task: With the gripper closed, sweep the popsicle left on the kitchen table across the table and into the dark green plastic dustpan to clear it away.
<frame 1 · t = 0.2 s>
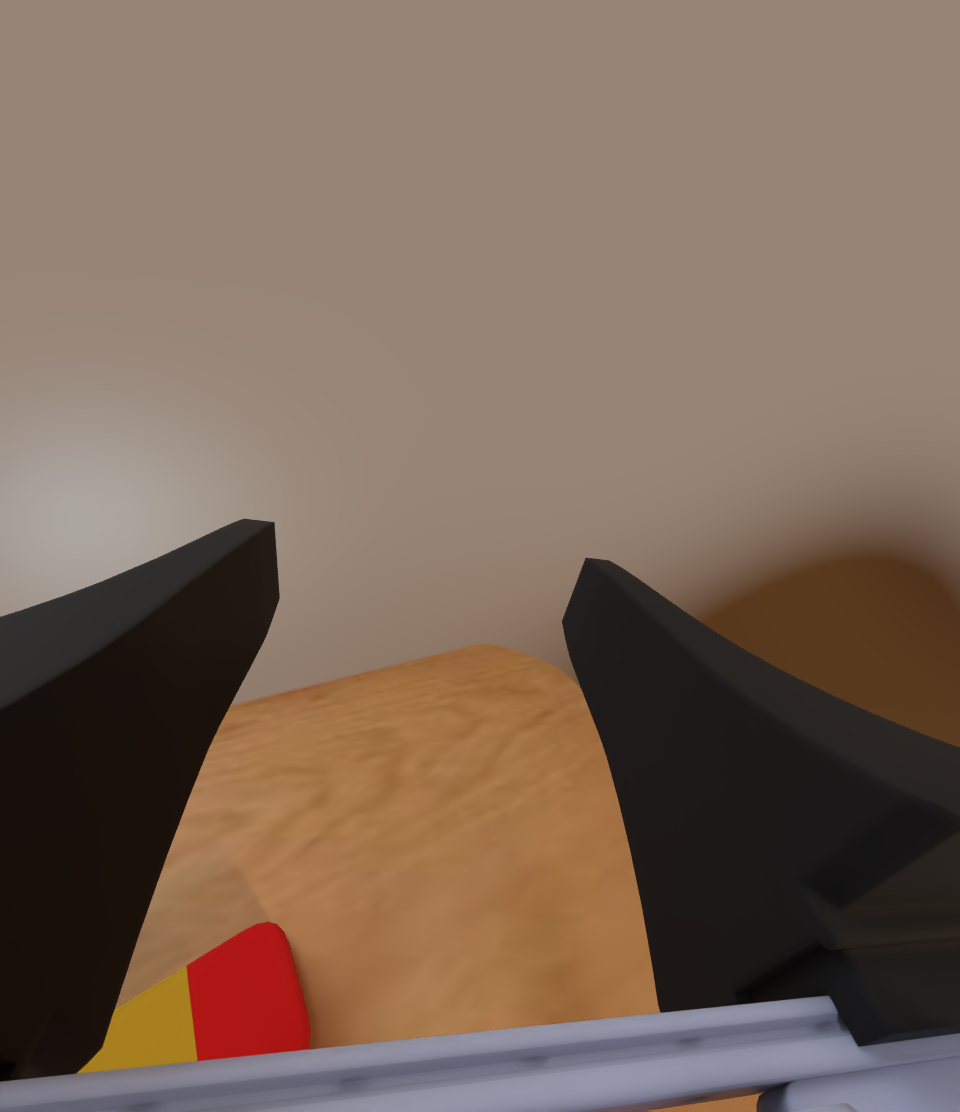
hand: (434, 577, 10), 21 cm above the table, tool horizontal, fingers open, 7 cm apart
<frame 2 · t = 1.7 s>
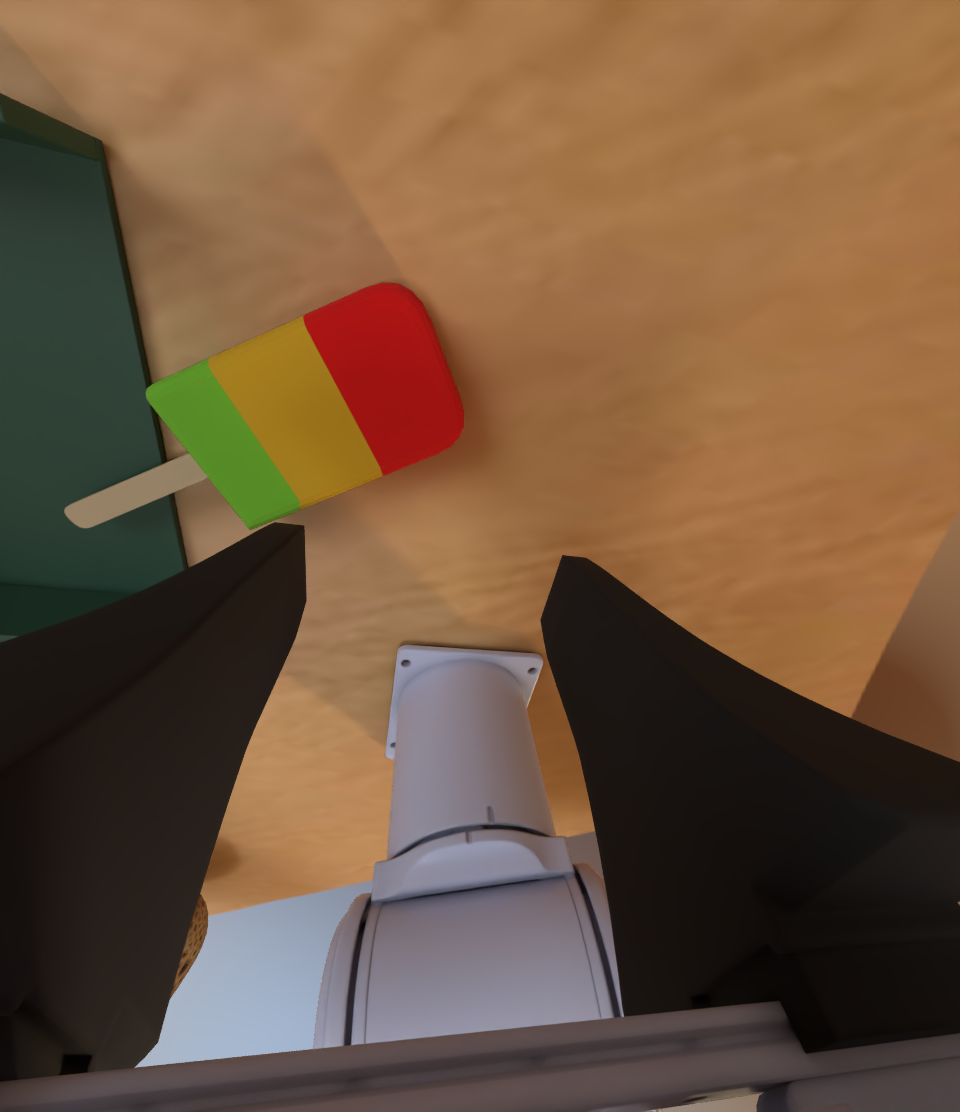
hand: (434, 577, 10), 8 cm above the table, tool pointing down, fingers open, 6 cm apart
natural sponge: (166, 854, 31), on the table
popsicle: (261, 434, 16), on the table, touching dustpan
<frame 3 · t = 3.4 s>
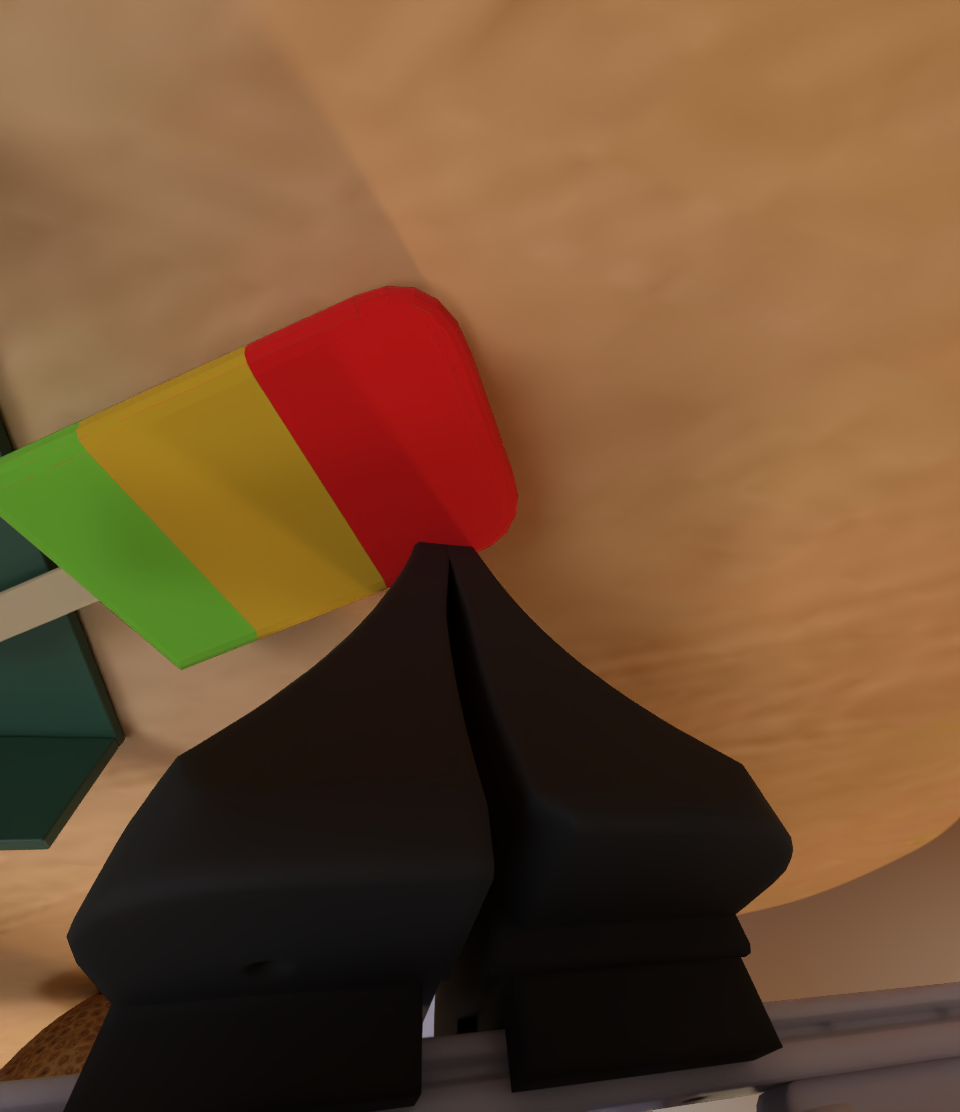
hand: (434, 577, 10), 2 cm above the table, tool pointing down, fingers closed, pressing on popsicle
natural sponge: (122, 988, 25), on the table
popsicle: (197, 520, 10), on the table, touching dustpan, gripper
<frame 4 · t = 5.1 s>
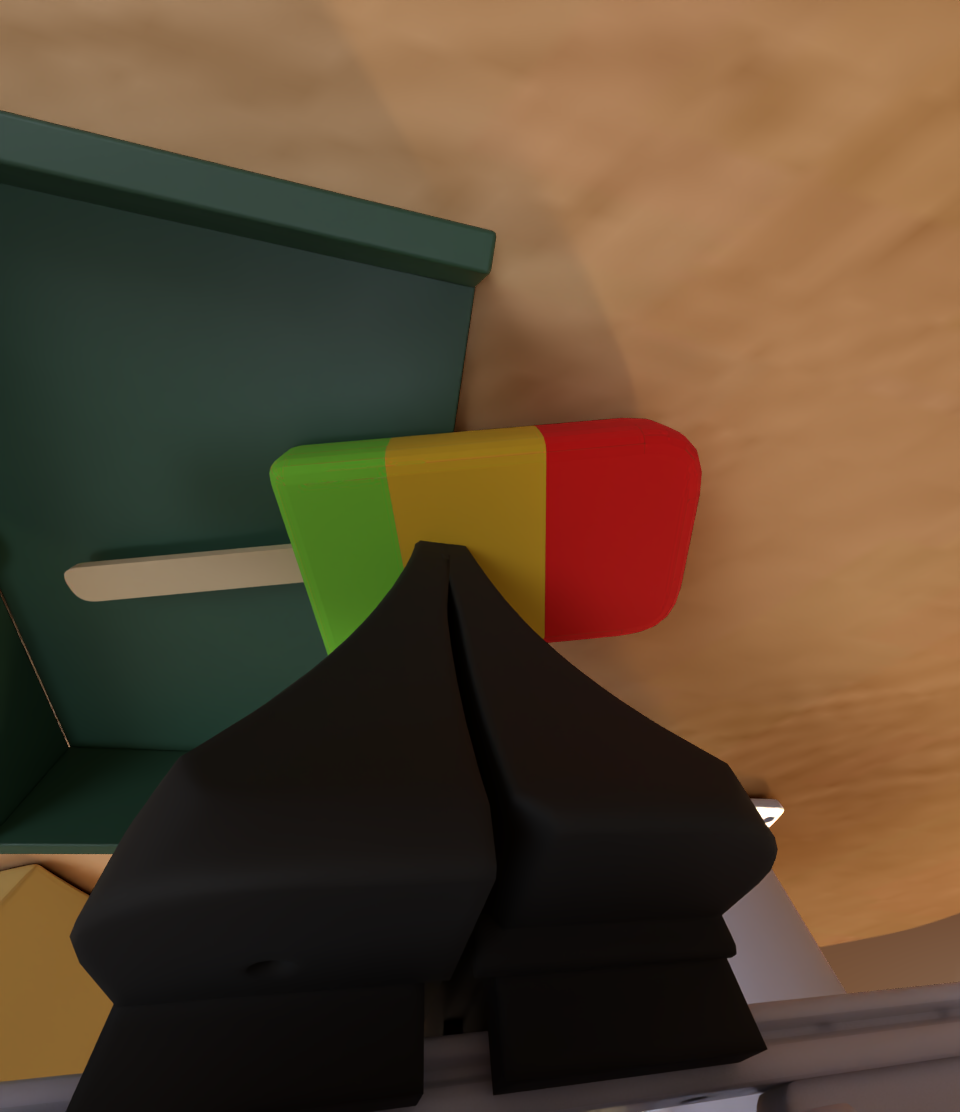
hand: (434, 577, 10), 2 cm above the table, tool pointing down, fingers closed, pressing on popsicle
dustpan: (228, 566, 11), on the table
cheese: (30, 920, 20), on the table
popsicle: (386, 536, 11), on the table, touching dustpan, gripper
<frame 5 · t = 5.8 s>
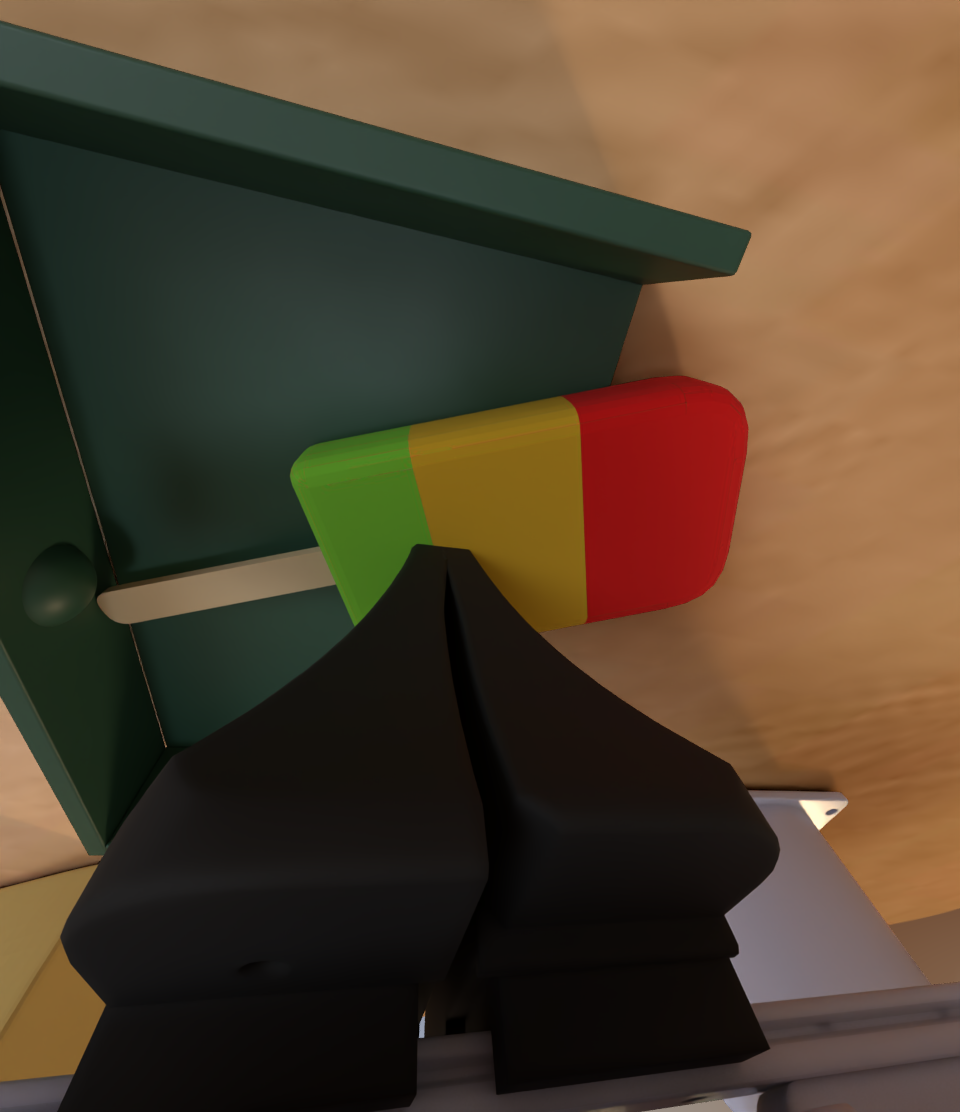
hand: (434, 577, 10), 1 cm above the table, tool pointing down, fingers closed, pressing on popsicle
dustpan: (346, 567, 11), on the table
cheese: (99, 915, 20), on the table
popsicle: (412, 528, 11), on the table, touching dustpan, gripper
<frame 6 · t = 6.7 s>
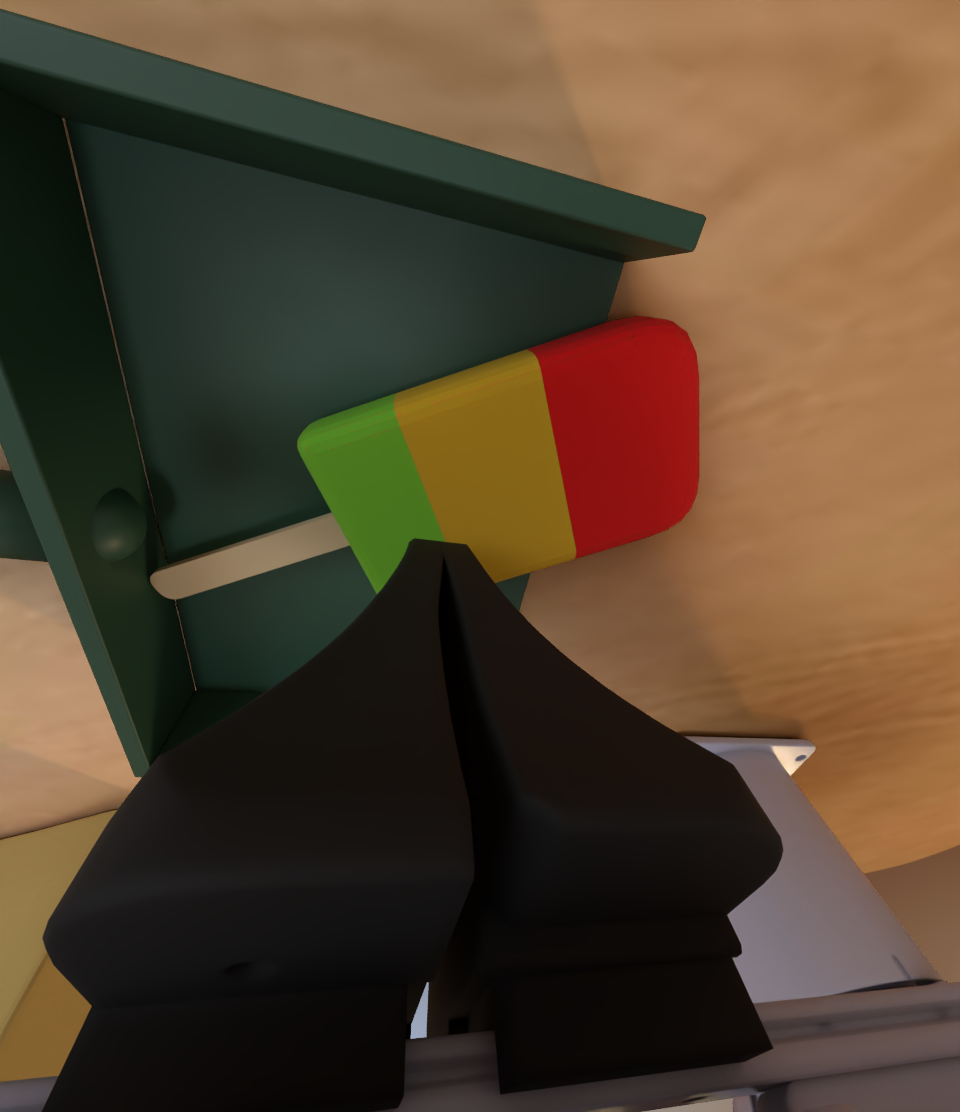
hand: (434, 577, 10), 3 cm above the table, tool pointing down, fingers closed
dustpan: (363, 519, 13), on the table
cheese: (125, 860, 22), on the table
popsicle: (411, 491, 12), resting on dustpan
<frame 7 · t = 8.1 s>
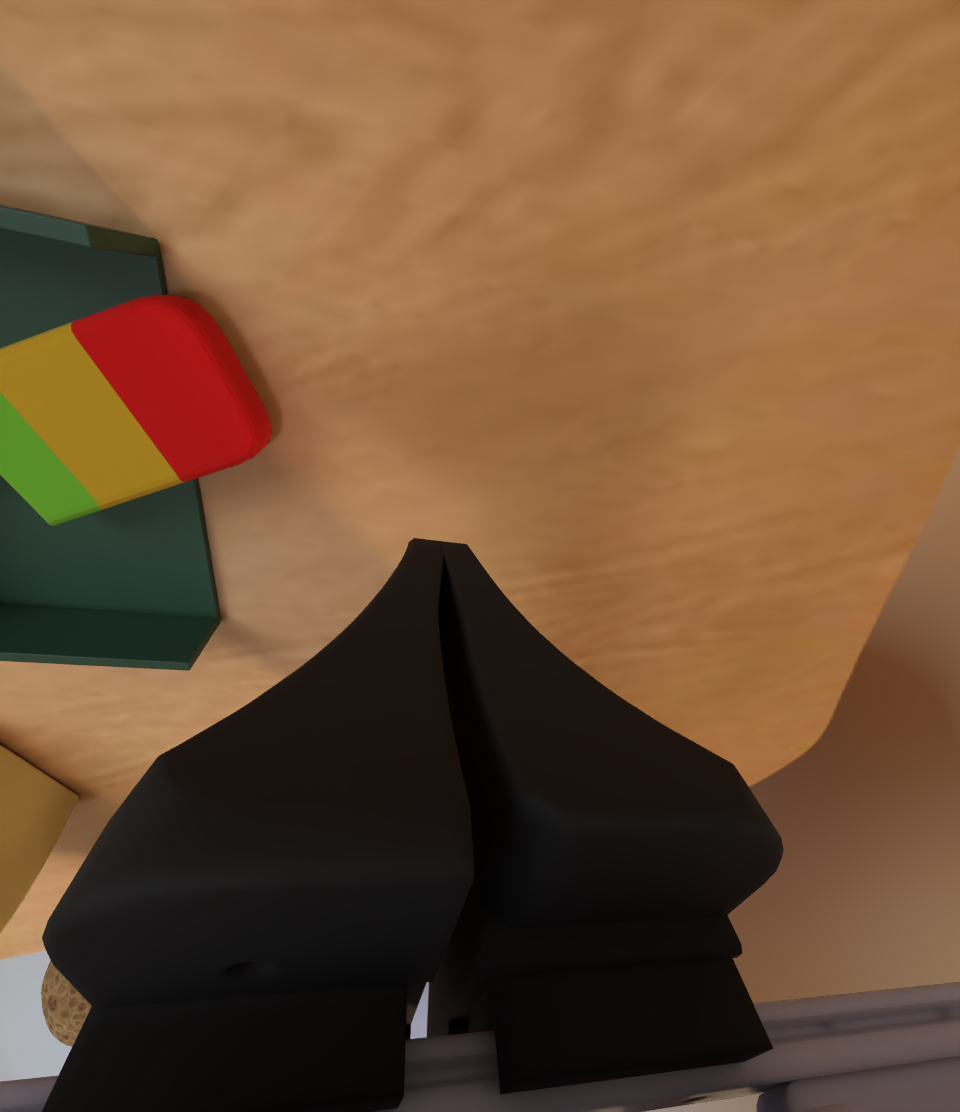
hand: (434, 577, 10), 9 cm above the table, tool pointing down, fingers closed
dustpan: (42, 455, 16), on the table
natural sponge: (184, 852, 33), on the table
popsicle: (70, 431, 16), resting on dustpan
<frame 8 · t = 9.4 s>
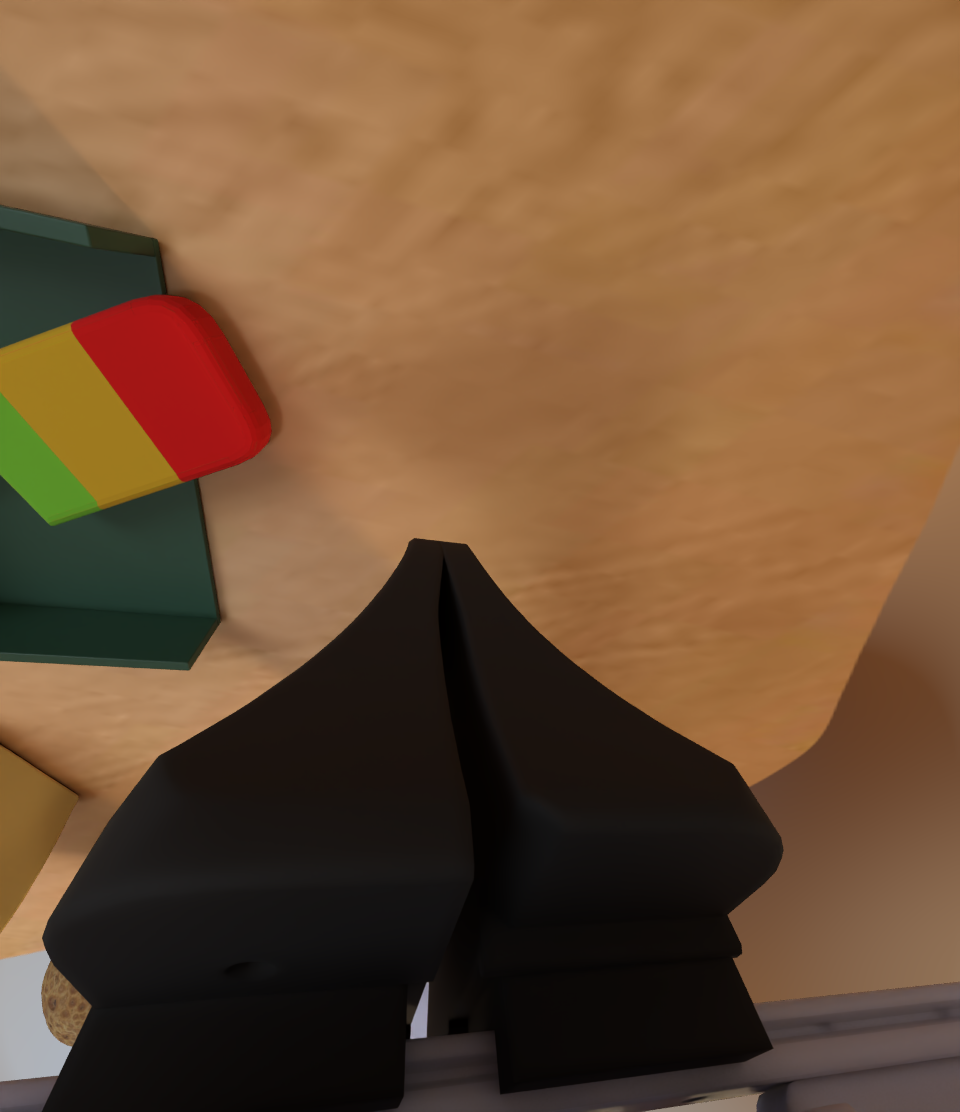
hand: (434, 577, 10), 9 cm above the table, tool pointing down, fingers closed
dustpan: (42, 455, 16), on the table
natural sponge: (184, 852, 33), on the table
popsicle: (70, 431, 16), resting on dustpan
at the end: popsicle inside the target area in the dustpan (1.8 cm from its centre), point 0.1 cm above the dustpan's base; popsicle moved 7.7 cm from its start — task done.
